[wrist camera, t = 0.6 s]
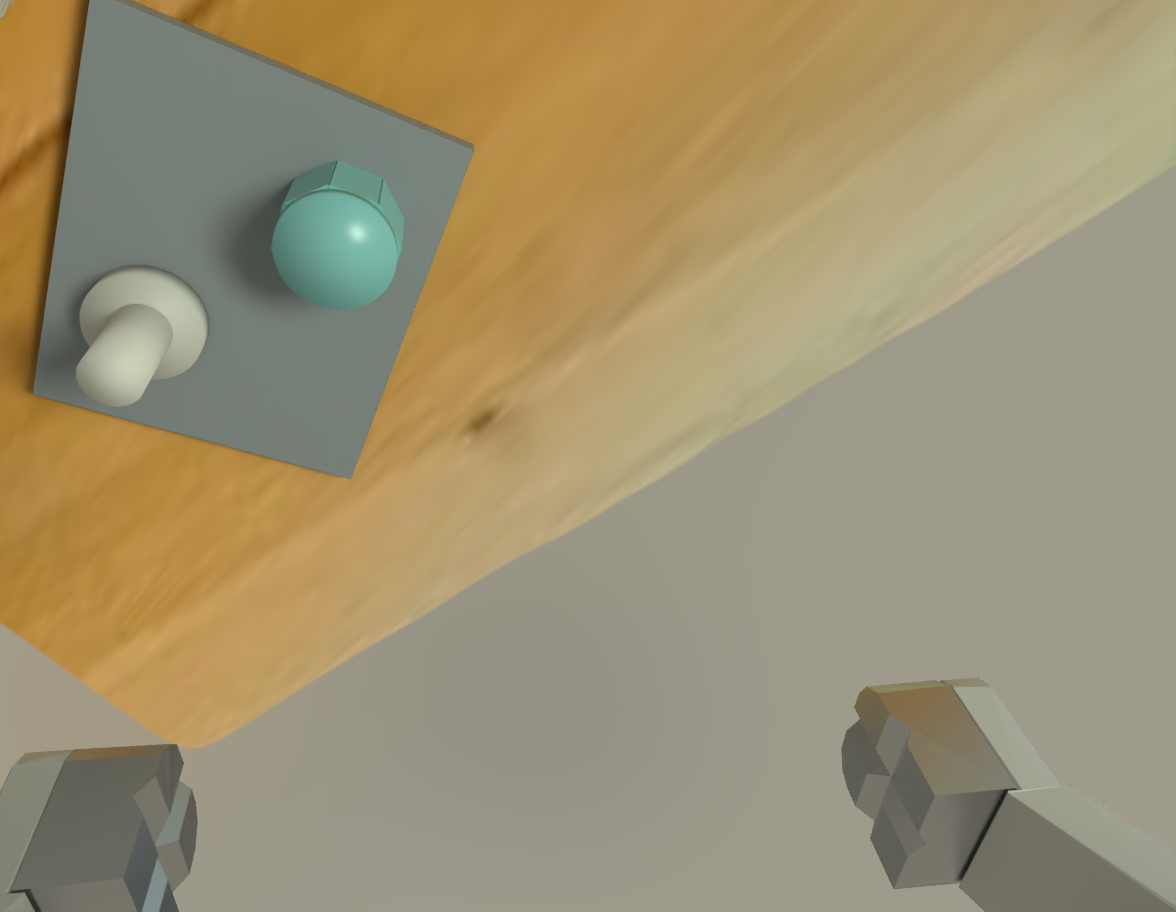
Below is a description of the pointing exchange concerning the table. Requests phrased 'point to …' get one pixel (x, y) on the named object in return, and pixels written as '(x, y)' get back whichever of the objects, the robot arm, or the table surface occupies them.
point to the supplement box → (3, 7)
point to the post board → (223, 243)
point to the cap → (338, 237)
